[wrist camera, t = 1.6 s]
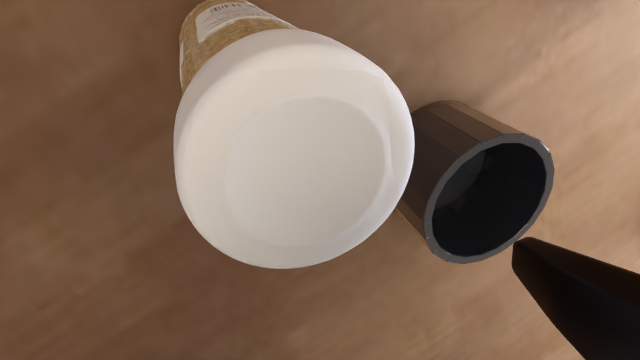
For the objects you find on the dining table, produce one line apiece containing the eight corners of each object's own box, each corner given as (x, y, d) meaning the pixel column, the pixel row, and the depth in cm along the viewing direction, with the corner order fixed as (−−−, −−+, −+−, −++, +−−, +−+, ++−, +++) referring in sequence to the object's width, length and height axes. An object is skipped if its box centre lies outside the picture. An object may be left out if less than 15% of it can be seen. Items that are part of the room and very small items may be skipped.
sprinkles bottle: (166, 74, 18) (136, 256, 7) (198, -27, 16) (231, -13, 5) (258, 108, 20) (356, 293, 9) (294, 21, 19) (467, 106, 7)
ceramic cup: (385, 227, 26) (428, 283, 22) (369, 124, 22) (417, 165, 18) (485, 189, 28) (547, 234, 23) (487, 84, 23) (562, 112, 19)
